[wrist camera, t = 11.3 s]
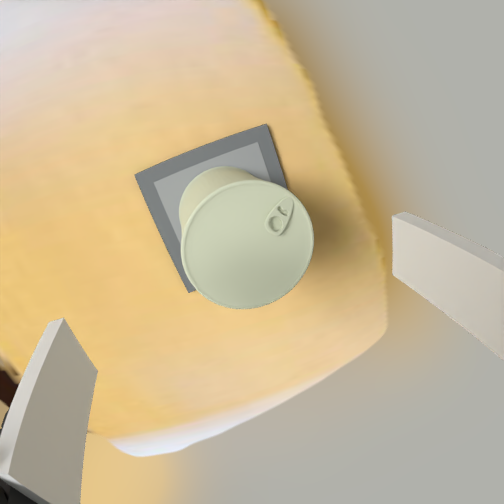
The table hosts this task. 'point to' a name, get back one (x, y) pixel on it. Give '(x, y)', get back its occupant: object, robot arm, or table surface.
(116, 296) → the table surface
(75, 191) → the table surface
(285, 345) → the table surface
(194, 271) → the can
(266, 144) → the coaster
